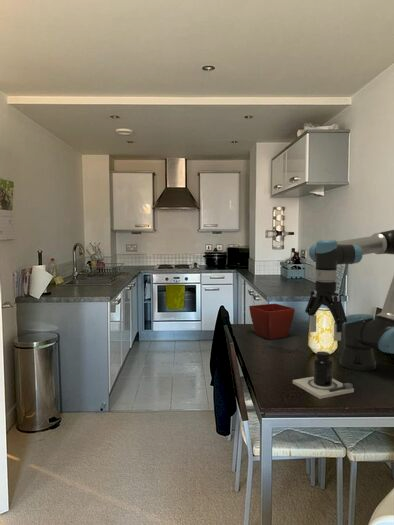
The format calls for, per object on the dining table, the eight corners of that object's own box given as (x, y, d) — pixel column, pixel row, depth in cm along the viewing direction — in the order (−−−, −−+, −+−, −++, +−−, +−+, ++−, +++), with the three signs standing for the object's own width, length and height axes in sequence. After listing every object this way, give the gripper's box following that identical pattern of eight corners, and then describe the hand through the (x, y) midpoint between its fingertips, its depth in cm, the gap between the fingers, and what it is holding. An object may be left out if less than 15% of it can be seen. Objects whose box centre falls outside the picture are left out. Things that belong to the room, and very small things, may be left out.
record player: (324, 377, 163) (324, 370, 163) (353, 391, 148) (354, 384, 148) (292, 383, 156) (292, 376, 156) (319, 398, 142) (320, 391, 142)
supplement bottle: (327, 380, 156) (328, 350, 155) (334, 386, 149) (335, 355, 148) (310, 380, 156) (311, 350, 155) (317, 387, 149) (317, 355, 148)
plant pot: (247, 333, 231) (248, 305, 230) (274, 330, 239) (275, 303, 238) (266, 342, 214) (267, 311, 213) (295, 338, 222) (295, 308, 221)
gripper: (296, 277, 159) (296, 329, 161) (342, 285, 136) (340, 345, 138) (311, 276, 162) (310, 327, 164) (358, 284, 139) (356, 343, 141)
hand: (324, 336), depth 151 cm, fingers open, 13 cm apart
